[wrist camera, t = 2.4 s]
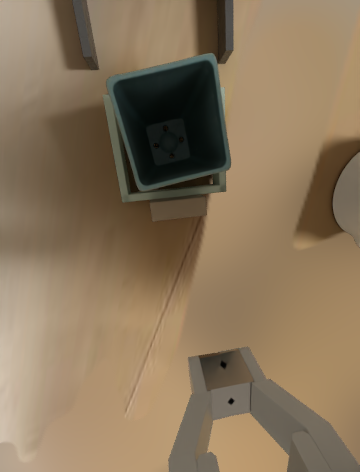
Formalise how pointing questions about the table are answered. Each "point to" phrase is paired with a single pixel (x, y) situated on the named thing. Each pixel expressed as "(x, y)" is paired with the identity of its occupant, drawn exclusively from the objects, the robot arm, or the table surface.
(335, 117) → the table surface
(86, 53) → the frame
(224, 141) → the flower pot
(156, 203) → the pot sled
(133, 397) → the table surface
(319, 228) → the table surface
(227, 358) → the robot arm
